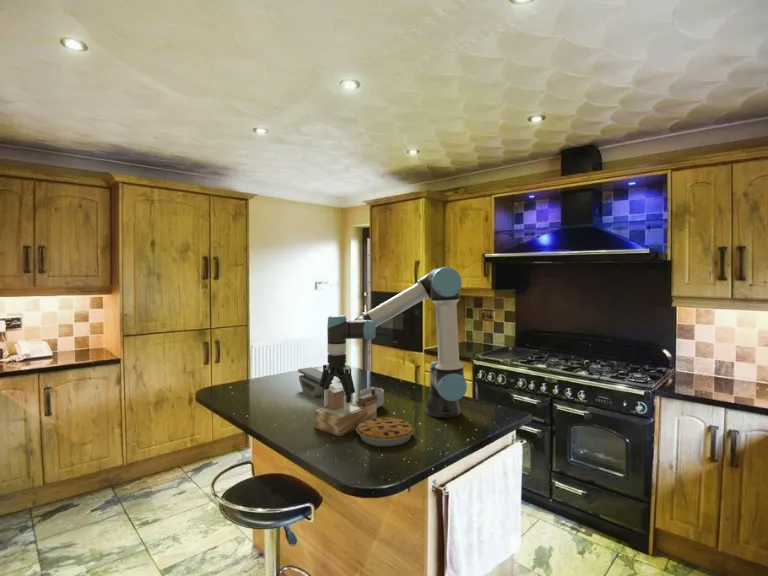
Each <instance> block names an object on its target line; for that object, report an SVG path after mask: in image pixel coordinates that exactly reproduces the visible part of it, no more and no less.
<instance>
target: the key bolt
mask: <svg viewBox="0 0 768 576" xmlns="http://www.w3.org/2000/svg"><path fill="white" fill-rule="evenodd" d="M373 399H377V394H375V389H371V394H368V395H365V396H362V397H361V396H360V397H358V400H359V405H361V406H364V403H365V402H368V401H370V400H373Z"/></svg>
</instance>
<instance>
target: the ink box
mask: <svg viewBox="0 0 768 576" xmlns="http://www.w3.org/2000/svg"><path fill="white" fill-rule="evenodd" d="M329 387H330V388H329V389H330V391H331V390H335V389H338V388H339V389H343V386H342V384H341V382H339V383H332V384H330V386H329ZM343 390H344V389H343ZM344 394H345V391H344ZM353 400H354V393H352V394H351V402H350V403H351V404H354V401H353Z"/></svg>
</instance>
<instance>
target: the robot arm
mask: <svg viewBox="0 0 768 576" xmlns="http://www.w3.org/2000/svg"><path fill="white" fill-rule="evenodd" d="M462 283H463V281H462V277H461V275H460V273H459V272H458V271H457V270H456V269H454V268H452V267H449V266H442V267H441V266H440V267H436V268H433V269H432V270H431V271H430V272H428V273H427V274H425V275H424V276H423V277H421V278H419V279H418V280H417V281H416V283H415V284H414V285H411V287H409V288H407V289H405V290H403V291H402V292H400V293H398V294H396V295H395V296H393V297H391V298H389V299H388V300H385V301H384V302H382V303H380V304H379V305H378V306H376V307H374V308H372V309H371V310H368V311H367V312H365V313H364V314H362V315H359V316H357V317H356V318H354V319H353V320H349V319H347V315H341V314H337V315H336V314H334V315H329V316H328V317H327V327H326V328H327V332H326V333H327V353H328V354H327V364H323V365H322V372H323V373H322V377H321V381H320V387H322V388H323V396H322V397H323V398H324V399H323V402H324V403H323V404H324V405H323V406H324V407H327V406H328V391H330V389H328V388H330V387H329V386H330V384H331V382H332V383H333V381H334V380H333V378H335V377H336V378H337V379H338V380H339V381H340V382H339V383H341V384H342V386H343V389H344V391H345V394H344V411H347V410H350V402H351V394H352V393H353V394H355V393H356V389H355V385H354V380H353V377H352V368H350V367H349V368H347V367H346V363H347V354H346V353H347V340H353V339H354V340H357V339H358V340H369V339H375V337H376V331H377V330H376V328H377V327H379V326H380V325H382V324H384V323H385V322H388V321H389V320H391V319H392V318H394V317H396V316H397V315H399V314H401V313H403V312H404V311H406V310H408V309H410V308H411V307H413V306H415V305H416V304H419V303H421V302H422V301H424V300H429V299H431V300H430V301H431V302H432V303H433V304H434V306H435V307H434V308H435V323H436V325H435V326H436V342H437V360H435V361H431V362H430V364H429V365H430V366H429V375H430V376H429V396H428V400H427V402H426V405H425V413H426V415H428V416H431V417H434V418H439V419H450V418H456V417H458V416H460V415H461V408H460V403H459V400H461V399H462V398H463V397H465V394H466V392H467V389H468V383H467V381H466V378H465V374H464V373H465V372H464V370H465V369H464V364H463V363H461V361H460V352H459V351H460V349H459V331H458V330H459V329H458V312H457V311H458V309H457V308H458V307H457V303H458V302H459V301H460V300H461V297H460V296H461V295H460V293H461V292H460V290H461V288H462V286H463V285H462Z"/></svg>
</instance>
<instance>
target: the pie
mask: <svg viewBox="0 0 768 576" xmlns="http://www.w3.org/2000/svg"><path fill="white" fill-rule="evenodd" d="M355 431H356V433H357V435H359V437H360V439H361V441H363V442H365V443H366V444H367V445H371V446H375V447H392V446H394V447H395V446H398V445H402V444H406V442H408V441H410V439H411V436H412V435H413V434H414V431H415V429H414V427H413V425H412V424H411V423H410V422H409V421H404V419H402V418H395V416H390V417H386V416H379V417H376V418H370V420H363V421H362V423H358V426H357V428H356V430H355Z"/></svg>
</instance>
